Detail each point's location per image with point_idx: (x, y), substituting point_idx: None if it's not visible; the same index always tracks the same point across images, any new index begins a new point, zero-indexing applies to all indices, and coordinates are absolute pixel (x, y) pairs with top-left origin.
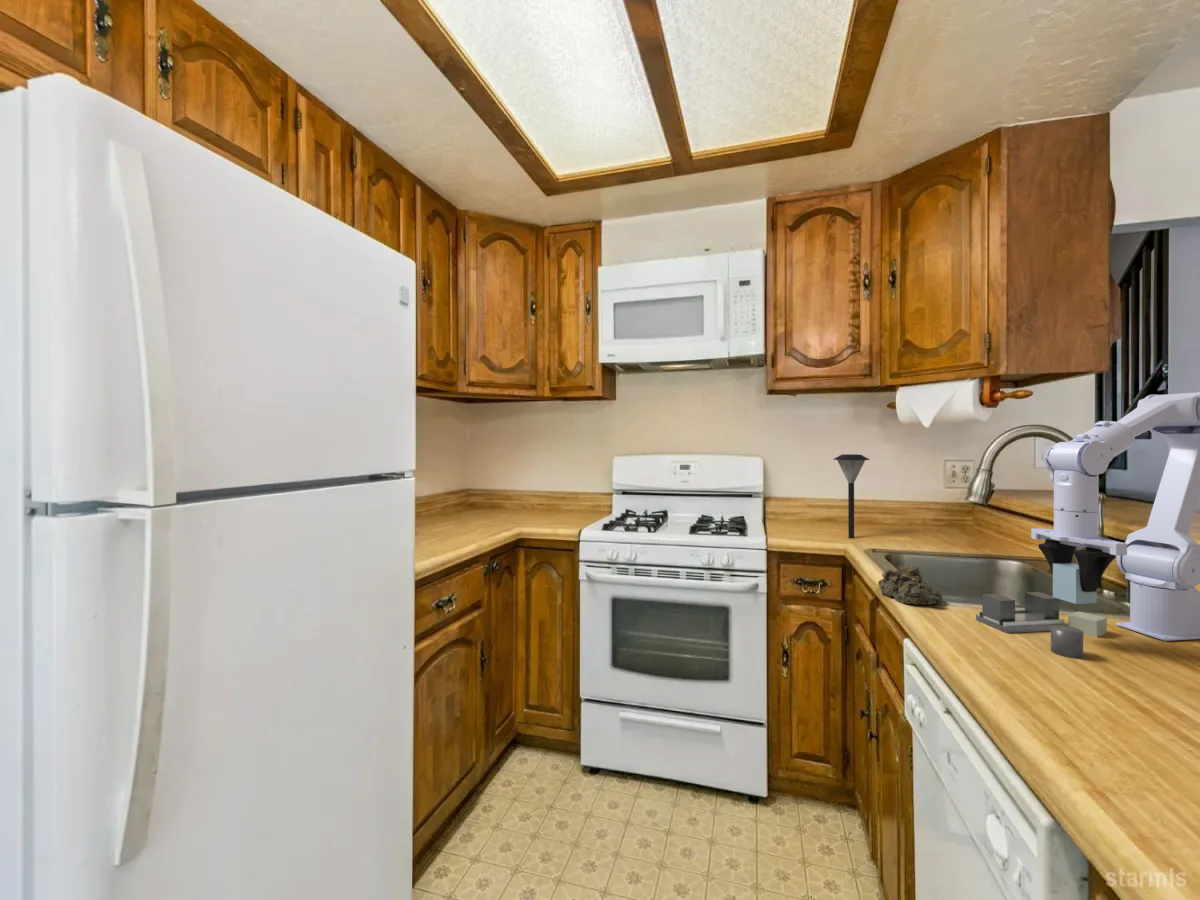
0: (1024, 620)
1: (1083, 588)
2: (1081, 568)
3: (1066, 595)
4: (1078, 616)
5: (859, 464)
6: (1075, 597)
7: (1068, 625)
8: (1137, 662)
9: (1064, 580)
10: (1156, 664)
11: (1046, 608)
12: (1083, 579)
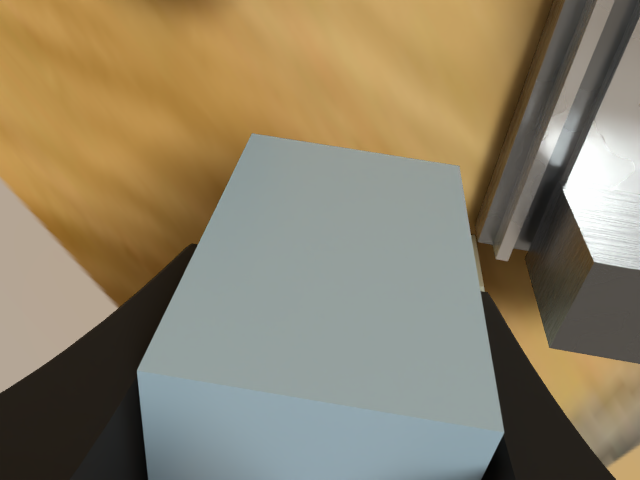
0: (624, 55)
1: (190, 255)
2: (79, 401)
3: (328, 170)
4: None
5: None
6: (243, 160)
7: (476, 248)
8: (90, 91)
9: (334, 260)
10: (69, 143)
11: (571, 233)
12: (138, 306)
